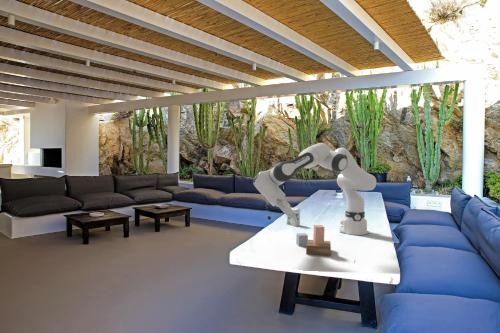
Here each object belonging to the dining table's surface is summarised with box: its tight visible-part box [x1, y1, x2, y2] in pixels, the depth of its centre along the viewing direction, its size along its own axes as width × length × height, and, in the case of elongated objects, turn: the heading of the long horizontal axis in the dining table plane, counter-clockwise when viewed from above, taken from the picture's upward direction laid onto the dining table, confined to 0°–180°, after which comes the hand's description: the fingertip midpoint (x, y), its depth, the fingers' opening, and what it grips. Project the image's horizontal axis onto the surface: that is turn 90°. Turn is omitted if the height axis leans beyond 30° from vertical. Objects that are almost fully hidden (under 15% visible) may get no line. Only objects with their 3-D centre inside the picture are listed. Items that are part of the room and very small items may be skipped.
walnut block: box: [305, 239, 332, 257], centre depth 177 cm, size 12×12×5 cm
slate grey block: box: [295, 232, 309, 247], centre depth 190 cm, size 5×5×6 cm
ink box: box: [286, 207, 301, 227], centre depth 243 cm, size 9×5×12 cm, turn 37°
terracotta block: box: [312, 224, 326, 245], centre depth 177 cm, size 4×4×9 cm
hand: (295, 217), depth 177 cm, fingers open, 8 cm apart
